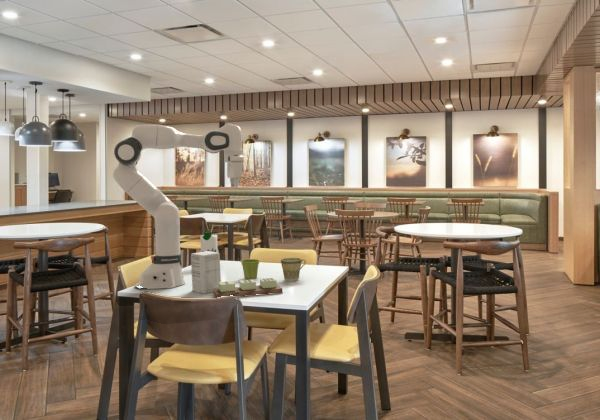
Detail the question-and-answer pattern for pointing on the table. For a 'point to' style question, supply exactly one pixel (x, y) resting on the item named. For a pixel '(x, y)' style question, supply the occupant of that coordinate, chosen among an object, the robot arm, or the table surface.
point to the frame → (248, 291)
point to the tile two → (247, 284)
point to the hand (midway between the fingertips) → (234, 187)
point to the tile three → (268, 283)
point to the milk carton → (209, 242)
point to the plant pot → (250, 268)
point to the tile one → (226, 286)
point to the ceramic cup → (291, 268)
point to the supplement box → (205, 271)
